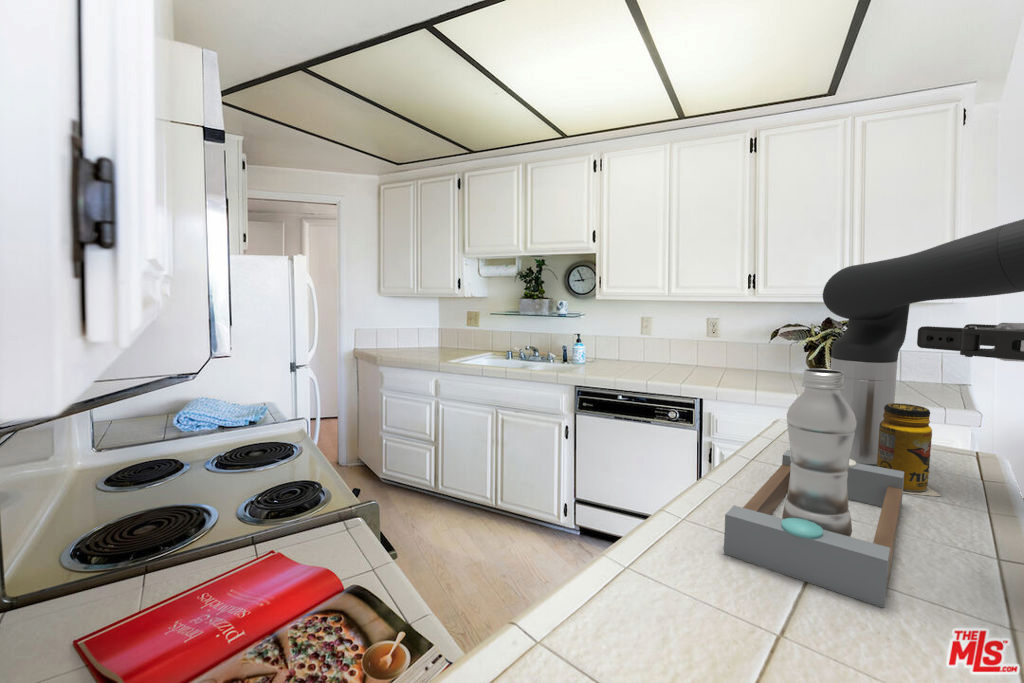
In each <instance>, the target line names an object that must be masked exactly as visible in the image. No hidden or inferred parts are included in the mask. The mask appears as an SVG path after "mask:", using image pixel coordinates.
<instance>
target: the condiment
mask: <svg viewBox="0 0 1024 683" xmlns="http://www.w3.org/2000/svg"><path fill="white" fill-rule="evenodd" d="M930 411H931V410H930V409H929V408H927V407H925V406H921V405H915V404H911V403H910V404H909V403H899V402H898V403H897V402H896V403H890V404H887V405H885V407H884V414H883V417H884V420H883V421H882V422H881V423H880V427H879V441H878V455H877V464H876V467H882V468H887V469H892V470H898V471H903V472H904V483H903V493H904V494H911V495H921V496H930V497H941V494H939V493H938V492H936V491H934V490H933V489H932V488H930V487H929V486H928V483H929V482H928V481H929V476H930V475H929V474H930V462H931V452H932V450H931V449H932V438H933V429H932V427H931V426H930V425H929V424H930V423H931V421H930V415H931V412H930Z"/></svg>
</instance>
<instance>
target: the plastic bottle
mask: <svg viewBox="0 0 1024 683" xmlns="http://www.w3.org/2000/svg"><path fill="white" fill-rule="evenodd" d="M843 381H844V372H842V371H838V370H831V368H830V369H827V368H805V369H804V371H803V379H802V381H801V386H802V387H803V388H804V389H803V392H802V393H800V395H799V396H798V397H797V398H795V400H794V401H793V402H792V404H791V405H790V406H789V407H788V410H787V411H786V412H787V413H786V423H787V434H788V441H789V448H790V449H789V450H790V460H791V464H790V467H791V472H790V480H789V487H788V493H787V494H786V499H785V502H784V506H783V511H782V517H781V518H782V519H786V518H799V519H804V520H808V521H811V522H813V523H815V524H817V525H819V526H820V527H821V528H822V529H823V530H827V531H830V532H834V533H838V534H841V535H845V536H849V537H852V533H853V525H852V524H853V523H852V518H851V514H850V513H851V512H850V510H849V499H848V489H847V477H848V471H847V470H848V468H849V459H850V453H851V448H852V444H853V439H854V435H855V431H856V424H857V421H856V418H855V415H854V413H853V411H852V409H851V408H850V406H849V405H848V403H847V402H846V401H845V399H844V398H843V397H842V395H841V392H840V390H843V389H844V384H843Z"/></svg>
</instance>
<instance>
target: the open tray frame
mask: <svg viewBox="0 0 1024 683" xmlns="http://www.w3.org/2000/svg"><path fill="white" fill-rule="evenodd" d="M790 472H791V467H790V466H787V465H782V464H780V466H779V467H778V469H776V471H775V472H774V473H773V474H772V475H771V476H770V477H769V478H768V479H767V481H766V482H765V483H764V484H763V485H762V486H761V487H760V488H759V489H758V491H756V493H754V495H753V496H752V497H751V498H750V499H749V501H747V503H745V505H744V506H743V507H742V508H746V509H749V510H753V511H757V512H760V513H764V514H768V515H771V516H772V514H773V513H774V512H775V510H776V509H777V508H778V507H779V505H780V504H781V502H782V501H783V500H784V498H785V497H787V495H788V487H789V480H790ZM901 500H902V501H903V496H902V489H899V488H894V487H889V486H888V487H887V491H886V495H885V499H884V503H883V507H881V510H880V511H881V512H880V514H879V520H878V523H877V526H876V531H875V535H874V538H873V542H872V543H875V544H878V545H882V546H886V547H889V548H890V556H889V569H888V582H887V589H888V587H889V581H890V576H891V571H892V563H893V559H894V552H895V546H896V542H897V536H898V529H899V528H898V527H899V524H900V517H901V512H902V506H901Z"/></svg>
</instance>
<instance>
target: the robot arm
mask: <svg viewBox="0 0 1024 683" xmlns="http://www.w3.org/2000/svg"><path fill="white" fill-rule="evenodd" d="M1021 292H1023V293H1024V218H1023V219H1019V220H1015V221H1012V222H1008V223H1005V224H1001V225H999V226H995V227H992V228H989V229H986V230H983V231H980V232H976V233H972V234H970V235H969V234H968V235H966V236H964V237H960V238H957V239H955V240H954V239H953V240H951V241H948V242H945V243H942V244H939V245H936V246H932V247H931V248H927V249H924V250H921V251H918V252H915V253H911V254H908V255H903V256H899V257H893V258H888V259H884V260H878V261H871V262H868V263H861V264H855V265H849V266H845V267H844V268H842V269H840V270H838V271H837V272H835V274H833V275H832V276H831V277H830V278H829V279H828V281H826V283H825V285H824V288H823V291H822V299H823V303H824V305H825V307H826V308H827V309H828V310H829V311H830V312H831V313H833V314H834V315H836V316H838V317H841V318H843V319H848V321H847V322H848V323H847V328H846V330H845V331H844V333H843V334H842V335H841V336H840V337H839V338H837V339H836V340H835V341H833V343H832V346H831V354H830V356H831V357H830V358H831V359H830V370H838V371H842V372H844V381H843V384H844V389H843V390H840V392H841V395H842V397H843V398H844V399H845V401H846V402H847V403H848V405H849V406H850V408H851V409H852V411H853V413H854V415H855V418H856V421H857V424H856V431H855V435H854V439H853V444H852V448H851V453H850V459H852V460H854V461H855V462H856V463H860V464H865V465H877V455H878V441H879V427H880V423H881V422H882V421H883V420H884V417H883V414H884V407H885V405H887V404H890V403H895V400H896V389H897V388H896V385H897V374H898V373H897V370H898V360H899V359H898V356H899V353H900V351H901V348H902V346H903V345H904V343H905V340H906V334H907V330H908V329H907V327H908V322H909V314H910V306H911V304H915V303H922V302H929V301H937V300H952V299H954V300H955V299H967V298H970V299H971V298H981V297H990V296H992V297H993V296H1001V295H1002V296H1003V295H1010V294H1015V293H1016V294H1017V293H1021ZM916 345H917V347H918V348H921V349H929V350H939V351H940V350H942V351H953V352H959V355H960V356H964V357H966V358H973V357H982V358H991V359H992V358H993V359H997V360H1000V361H1004V362H1022V363H1023V362H1024V322H999V323H998V324H978V323H968V324H966V325H965V326H964V327H949V326H948V327H947V326H921V327H919V328H918V329H917V340H916ZM981 346H986V347H993V348H983V347H982V348H981Z"/></svg>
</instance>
